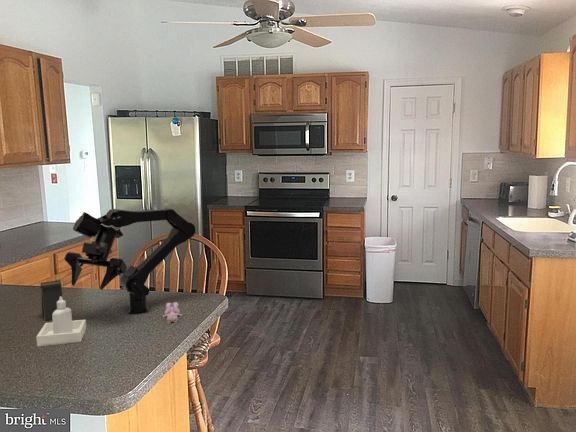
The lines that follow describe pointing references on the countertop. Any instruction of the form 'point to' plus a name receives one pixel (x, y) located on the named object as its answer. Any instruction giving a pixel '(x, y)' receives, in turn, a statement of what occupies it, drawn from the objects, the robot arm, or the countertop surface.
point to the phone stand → (50, 298)
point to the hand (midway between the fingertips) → (86, 287)
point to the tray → (61, 334)
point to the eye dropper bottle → (62, 318)
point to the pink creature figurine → (172, 312)
